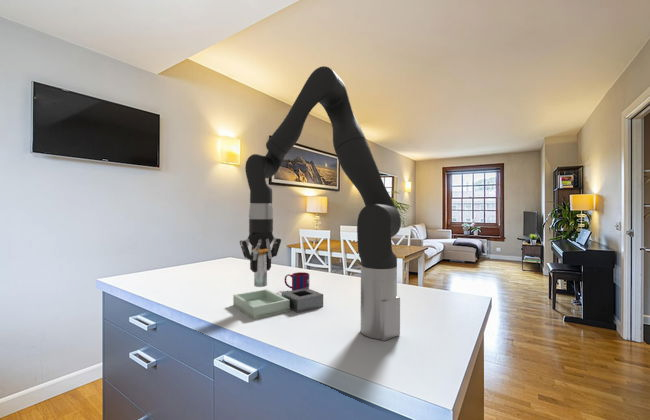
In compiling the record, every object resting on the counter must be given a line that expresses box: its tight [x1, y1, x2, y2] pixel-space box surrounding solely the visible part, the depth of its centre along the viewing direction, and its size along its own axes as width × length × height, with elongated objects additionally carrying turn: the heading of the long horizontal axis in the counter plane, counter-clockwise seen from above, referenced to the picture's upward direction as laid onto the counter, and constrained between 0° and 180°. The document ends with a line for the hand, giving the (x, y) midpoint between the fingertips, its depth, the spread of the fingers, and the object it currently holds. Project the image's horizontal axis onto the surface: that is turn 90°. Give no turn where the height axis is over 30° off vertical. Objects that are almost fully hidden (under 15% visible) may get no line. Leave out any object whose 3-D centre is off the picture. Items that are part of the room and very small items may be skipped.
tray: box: [232, 288, 291, 320], centre depth 96 cm, size 16×12×3 cm
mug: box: [284, 271, 310, 291], centre depth 117 cm, size 7×10×7 cm
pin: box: [253, 248, 268, 288], centre depth 97 cm, size 5×5×12 cm
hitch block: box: [280, 288, 324, 314], centre depth 99 cm, size 10×10×4 cm
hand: (260, 270), depth 96 cm, fingers closed on pin, 4 cm apart
